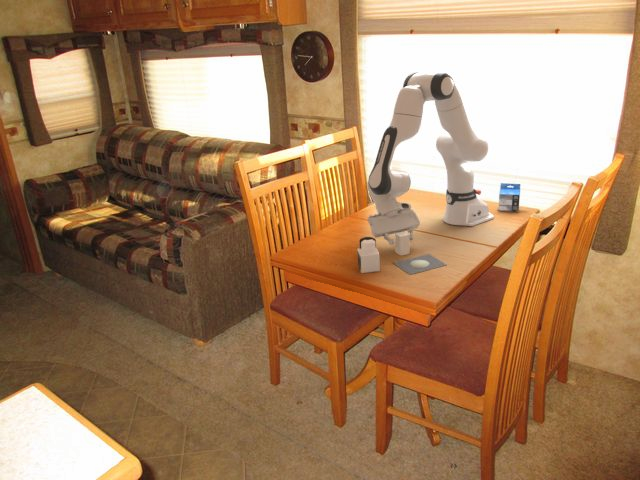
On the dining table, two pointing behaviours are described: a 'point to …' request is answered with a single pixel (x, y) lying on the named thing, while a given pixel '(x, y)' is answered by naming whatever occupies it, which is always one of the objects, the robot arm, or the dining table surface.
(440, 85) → the robot arm
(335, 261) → the dining table surface
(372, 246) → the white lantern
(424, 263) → the slate pad
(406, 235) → the white block
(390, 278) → the dining table surface
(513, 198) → the label tape cartridge
